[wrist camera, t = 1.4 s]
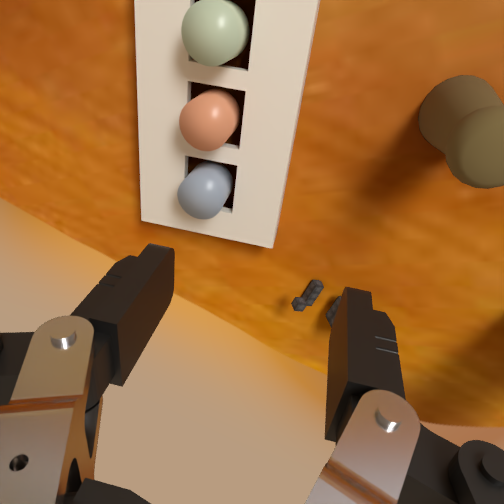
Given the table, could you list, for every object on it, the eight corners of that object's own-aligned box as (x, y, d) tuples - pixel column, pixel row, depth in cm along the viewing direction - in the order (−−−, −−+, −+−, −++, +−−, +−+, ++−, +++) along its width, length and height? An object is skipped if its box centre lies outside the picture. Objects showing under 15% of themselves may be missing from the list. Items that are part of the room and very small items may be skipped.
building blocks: (358, 338, 45) (298, 335, 42) (339, 302, 49) (282, 297, 45) (373, 319, 43) (312, 315, 40) (352, 283, 47) (294, 277, 44)
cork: (471, 57, 31) (523, 81, 22) (512, 116, 33) (576, 161, 24) (403, 111, 34) (424, 153, 25) (444, 163, 36) (477, 219, 27)
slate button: (235, 165, 38) (224, 181, 34) (230, 204, 40) (220, 223, 37) (192, 156, 38) (177, 171, 35) (190, 196, 40) (176, 214, 37)
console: (327, -40, 30) (326, -44, 27) (276, 234, 43) (272, 248, 40) (149, -66, 31) (132, -72, 28) (152, 208, 44) (141, 220, 42)
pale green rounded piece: (252, 3, 30) (241, 4, 27) (246, 63, 33) (235, 70, 29) (199, -5, 31) (182, -5, 27) (197, 55, 33) (180, 61, 30)
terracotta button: (243, 92, 34) (232, 103, 31) (237, 141, 36) (227, 155, 33) (195, 84, 34) (179, 93, 31) (193, 132, 37) (178, 146, 33)
